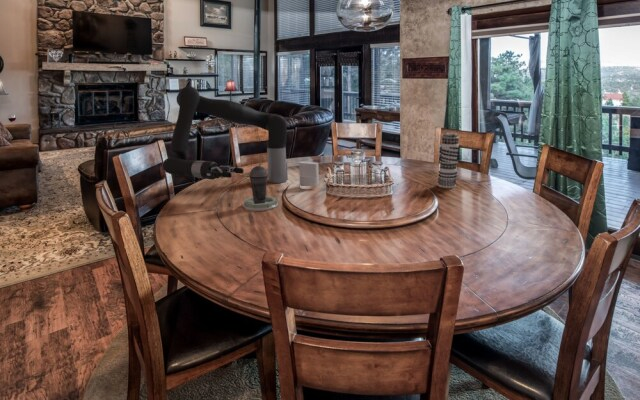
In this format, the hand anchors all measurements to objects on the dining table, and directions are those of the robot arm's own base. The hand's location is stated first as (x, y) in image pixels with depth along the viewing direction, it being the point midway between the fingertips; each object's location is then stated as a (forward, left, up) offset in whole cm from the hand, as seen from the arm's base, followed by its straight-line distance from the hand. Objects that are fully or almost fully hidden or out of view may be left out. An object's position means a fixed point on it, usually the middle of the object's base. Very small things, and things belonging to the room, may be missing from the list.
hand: (237, 172), depth 181 cm
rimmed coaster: (-2, +10, -13) cm, 17 cm away
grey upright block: (-38, +9, -13) cm, 41 cm away
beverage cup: (-2, +10, -12) cm, 16 cm away
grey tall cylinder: (-76, +63, -13) cm, 100 cm away
